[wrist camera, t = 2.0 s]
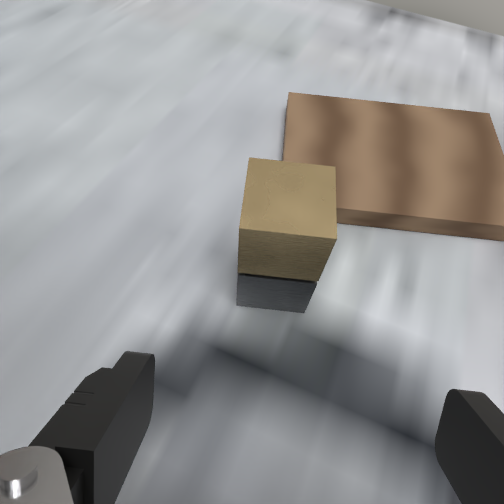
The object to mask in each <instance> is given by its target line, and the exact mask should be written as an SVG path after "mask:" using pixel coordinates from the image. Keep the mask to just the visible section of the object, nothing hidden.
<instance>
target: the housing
mask: <svg viewBox="0 0 504 504" xmlns="http://www.w3.org/2000/svg"><path fill="white" fill-rule="evenodd" d="M336 240H337V217H336V170H335V167H333V166H324V165H314V164H305V163H296V162H286V161H277V160H268V159H259V158H249V163H248V169H247V176H246V183H245V190H244V197H243V204H242V211H241V218H240V225H239V247H238V279H237V306H245V307H254V308H263V309H272V310H281V311H290V312H299V313H305V310H306V308H307V306H308V303H309V301H310V299H311V297H312V294H313V292H314V290H315V288H316V285H317V281H319V279H320V276H321V274H322V272H323V269H324V267H325V265H326V263H327V260H328V258H329V256H330V254H331V251H332V249H333V247H334V244H335V242H336Z"/></svg>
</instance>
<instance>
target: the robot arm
mask: <svg viewBox="0 0 504 504" xmlns="http://www.w3.org/2000/svg"><path fill="white" fill-rule="evenodd" d="M154 371H155V357H154V354H148V353H139V352H130V351H126V352H124V354H123V355H122V356H121V358H120V359H119V360H118V362H117V363H116V364H115V366H114V367H113V368H112V369H111V368H101V369H99V370H97V371H96V372H94V373H92V374H91V375H89V376H87V377H85V379H84V380H83V381H82V382H81V383H80V385H79V386H78V387H77V388H76V389H75V391H74V393H72V394H71V395H70V397H69V398H68V399H67V400H66V401H65V404H64V405H62V406H61V407H60V409H59V410H58V411H57V412H56V413H55V415H54V416H53V417H52V418H51V419H50V421H49V422H48V423H47V424H46V425H45V427H44V428H43V429H42V430H41V431H40V433H39V434H38V435H37V436H36V437H35V439H34V440H33V441H32V442H31V443H30V445H29V446H28V447H22V448H18V449H15V450H12V451H9V452H7V453H5V454H2V455H0V504H114V503H115V501H116V499H117V497H118V494H119V492H120V490H121V487H122V485H123V483H124V481H125V478H126V476H127V474H128V472H129V469H130V467H131V465H132V463H133V460H134V458H135V456H136V454H137V451H138V449H139V447H140V445H141V442H142V440H143V438H144V436H145V433H146V431H147V429H148V426H149V423H150V419H151V414H152V408H153V392H154ZM435 451H436V456H437V460H438V462H439V464H440V466H441V468H442V470H443V472H444V473H445V475H446V477H447V479H448V480H449V482H450V484H451V486H452V487H453V489H454V491H455V493H456V494H457V496H458V498H459V500H460V501H461V503H462V504H504V414H503V413H502V412H501V410H500V409H499V408H498V407H497V406H496V405H495V404H494V403H493V402H492V401H491V400H490V399H489V398H488V397H487V396H486V395H485V394H484V393H482V392H475V391H466V390H457V389H452V390H450V391H449V392H448V394H447V396H446V399H445V403H444V407H443V411H442V414H441V418H440V422H439V426H438V430H437V434H436V438H435Z"/></svg>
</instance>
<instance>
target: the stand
mask: <svg viewBox="0 0 504 504" xmlns="http://www.w3.org/2000/svg"><path fill="white" fill-rule="evenodd" d="M282 161H286V162H296V163H305V164H314V165H324V166H333V167H335V170H336V217H337V223H343V224H352V225H361V226H370V227H379V228H388V229H398V230H407V231H416V232H425V233H434V234H443V235H452V236H462V237H471V238H480V239H489V240H498V241H504V155H503V152H502V149H501V146H500V143H499V140H498V137H497V134H496V132H495V129H494V126H493V123H492V120H491V117H490V114H489V113H481V112H471V111H462V110H453V109H443V108H434V107H424V106H415V105H405V104H396V103H386V102H377V101H367V100H358V99H349V98H339V97H330V96H320V95H311V94H301V93H292V92H289V95H288V101H287V108H286V120H285V132H284V145H283V158H282Z"/></svg>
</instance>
